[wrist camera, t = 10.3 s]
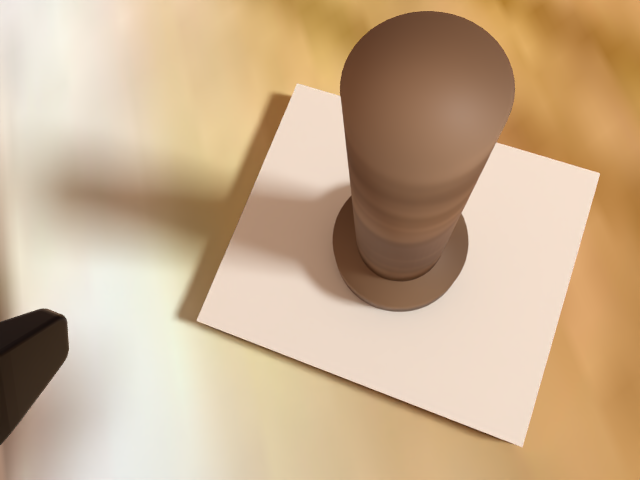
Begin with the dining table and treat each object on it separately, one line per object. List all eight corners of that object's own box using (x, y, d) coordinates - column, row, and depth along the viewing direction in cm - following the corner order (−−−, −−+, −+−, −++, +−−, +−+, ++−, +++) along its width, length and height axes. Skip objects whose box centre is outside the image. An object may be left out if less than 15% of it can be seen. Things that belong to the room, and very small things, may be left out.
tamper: (439, 330, 22) (522, 253, 10) (316, 286, 23) (252, 164, 11) (478, 211, 23) (596, 7, 11) (359, 173, 24) (345, -54, 12)
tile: (514, 444, 22) (522, 447, 20) (205, 324, 24) (196, 320, 23) (589, 183, 24) (599, 173, 23) (300, 97, 26) (297, 83, 25)
